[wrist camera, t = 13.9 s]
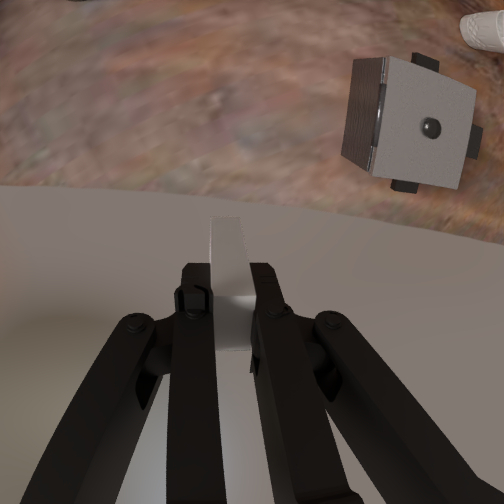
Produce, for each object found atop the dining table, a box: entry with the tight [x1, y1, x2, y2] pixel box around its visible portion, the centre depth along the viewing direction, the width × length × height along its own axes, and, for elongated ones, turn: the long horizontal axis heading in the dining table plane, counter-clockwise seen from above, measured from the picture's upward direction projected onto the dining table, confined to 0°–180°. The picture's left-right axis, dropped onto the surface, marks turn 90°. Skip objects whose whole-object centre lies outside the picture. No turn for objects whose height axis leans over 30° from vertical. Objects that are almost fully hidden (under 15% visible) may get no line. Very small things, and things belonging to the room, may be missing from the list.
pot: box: [341, 53, 439, 194], centre depth 38 cm, size 20×15×9 cm
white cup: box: [460, 10, 504, 54], centre depth 30 cm, size 8×8×10 cm
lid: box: [369, 56, 483, 189], centre depth 34 cm, size 15×19×2 cm
